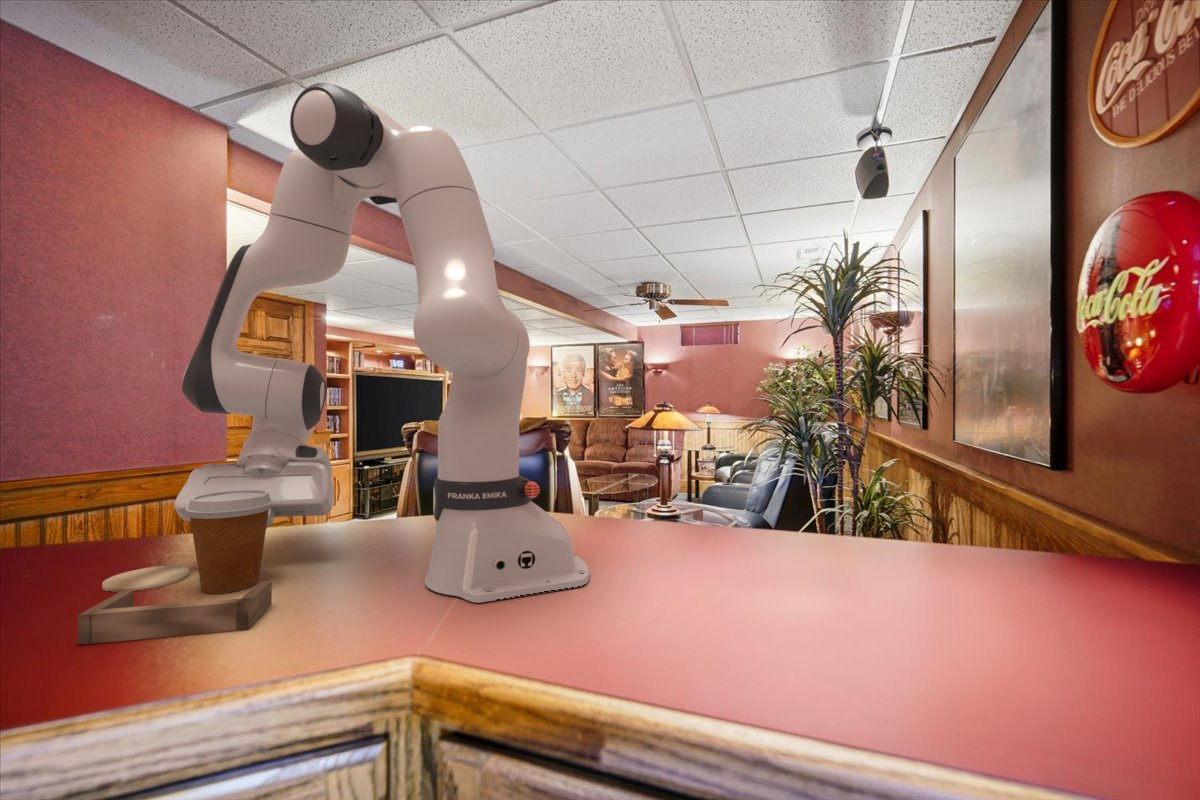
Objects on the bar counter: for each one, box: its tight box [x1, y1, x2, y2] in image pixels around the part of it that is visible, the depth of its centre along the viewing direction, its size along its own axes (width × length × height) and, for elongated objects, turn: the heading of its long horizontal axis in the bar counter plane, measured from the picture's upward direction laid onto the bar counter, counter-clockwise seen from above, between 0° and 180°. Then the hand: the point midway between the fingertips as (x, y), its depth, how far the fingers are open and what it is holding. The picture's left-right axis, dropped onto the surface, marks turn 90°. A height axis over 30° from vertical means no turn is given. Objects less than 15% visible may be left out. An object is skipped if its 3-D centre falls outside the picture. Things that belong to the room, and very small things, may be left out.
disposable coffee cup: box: [186, 490, 273, 595], centre depth 70 cm, size 10×10×12 cm
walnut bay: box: [77, 580, 273, 645], centre depth 58 cm, size 15×7×3 cm, turn 104°
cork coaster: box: [101, 564, 190, 593], centre depth 72 cm, size 9×9×1 cm
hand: (244, 540), depth 74 cm, fingers closed, pressing on disposable coffee cup
